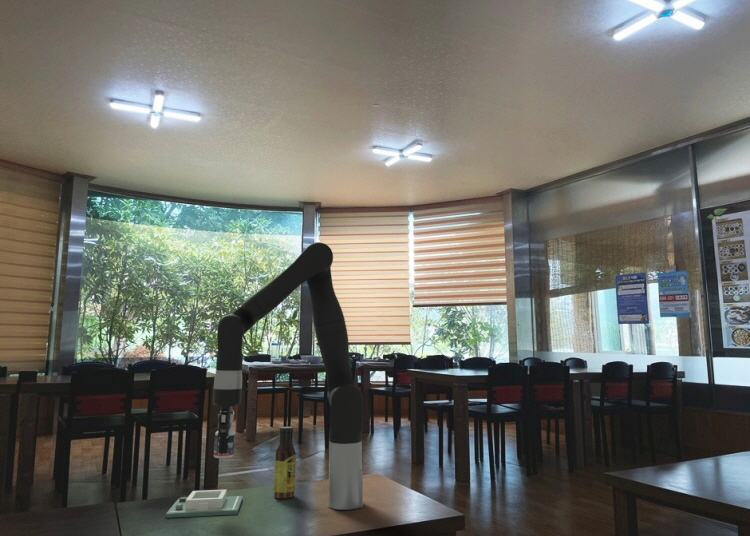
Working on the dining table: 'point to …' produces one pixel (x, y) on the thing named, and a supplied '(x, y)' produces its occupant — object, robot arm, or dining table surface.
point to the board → (205, 504)
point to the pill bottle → (230, 445)
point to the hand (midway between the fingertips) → (224, 450)
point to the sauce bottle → (285, 465)
